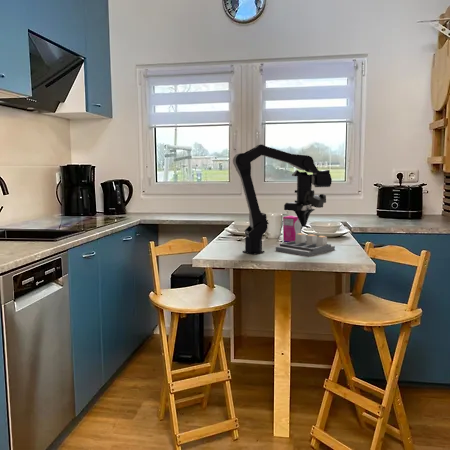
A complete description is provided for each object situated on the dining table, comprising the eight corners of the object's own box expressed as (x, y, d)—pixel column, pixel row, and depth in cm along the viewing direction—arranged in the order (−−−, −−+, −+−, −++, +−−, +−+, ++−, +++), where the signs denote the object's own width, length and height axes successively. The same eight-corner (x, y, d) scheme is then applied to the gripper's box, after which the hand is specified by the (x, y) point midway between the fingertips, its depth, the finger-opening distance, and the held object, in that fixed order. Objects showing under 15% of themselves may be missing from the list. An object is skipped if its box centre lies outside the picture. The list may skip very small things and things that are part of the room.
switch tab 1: (301, 244, 189) (301, 234, 188) (295, 243, 191) (295, 233, 190) (305, 243, 191) (305, 233, 190) (299, 242, 193) (299, 233, 192)
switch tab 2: (312, 246, 186) (312, 235, 185) (306, 245, 188) (306, 235, 187) (316, 245, 188) (316, 234, 187) (310, 244, 190) (310, 234, 189)
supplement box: (289, 240, 209) (289, 215, 207) (300, 241, 205) (301, 216, 204) (282, 241, 204) (282, 216, 203) (294, 243, 201) (294, 217, 199)
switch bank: (308, 256, 173) (308, 249, 173) (275, 250, 185) (275, 244, 184) (334, 249, 186) (334, 243, 185) (302, 244, 197) (302, 239, 197)
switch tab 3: (322, 247, 182) (322, 237, 182) (316, 246, 184) (316, 236, 184) (326, 246, 184) (327, 236, 184) (320, 245, 186) (320, 235, 186)
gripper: (307, 189, 168) (306, 231, 171) (334, 187, 181) (334, 226, 184) (283, 188, 176) (283, 228, 178) (311, 186, 189) (310, 223, 191)
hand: (303, 226), depth 183 cm, fingers closed
